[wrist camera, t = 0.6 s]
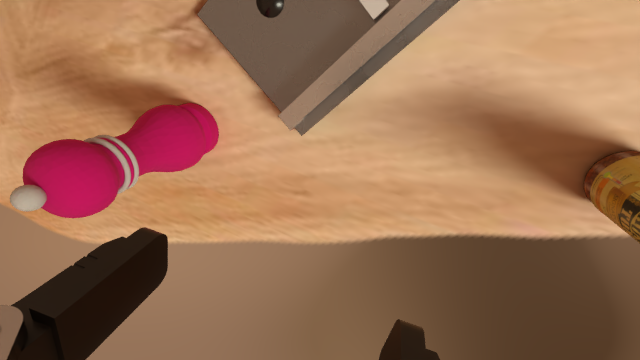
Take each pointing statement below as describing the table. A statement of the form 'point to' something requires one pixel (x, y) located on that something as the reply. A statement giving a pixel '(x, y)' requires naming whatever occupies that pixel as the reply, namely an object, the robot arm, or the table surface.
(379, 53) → the hole plate
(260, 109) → the table surface
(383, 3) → the block
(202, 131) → the pepper mill
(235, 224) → the table surface
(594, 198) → the sauce bottle
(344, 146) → the table surface
